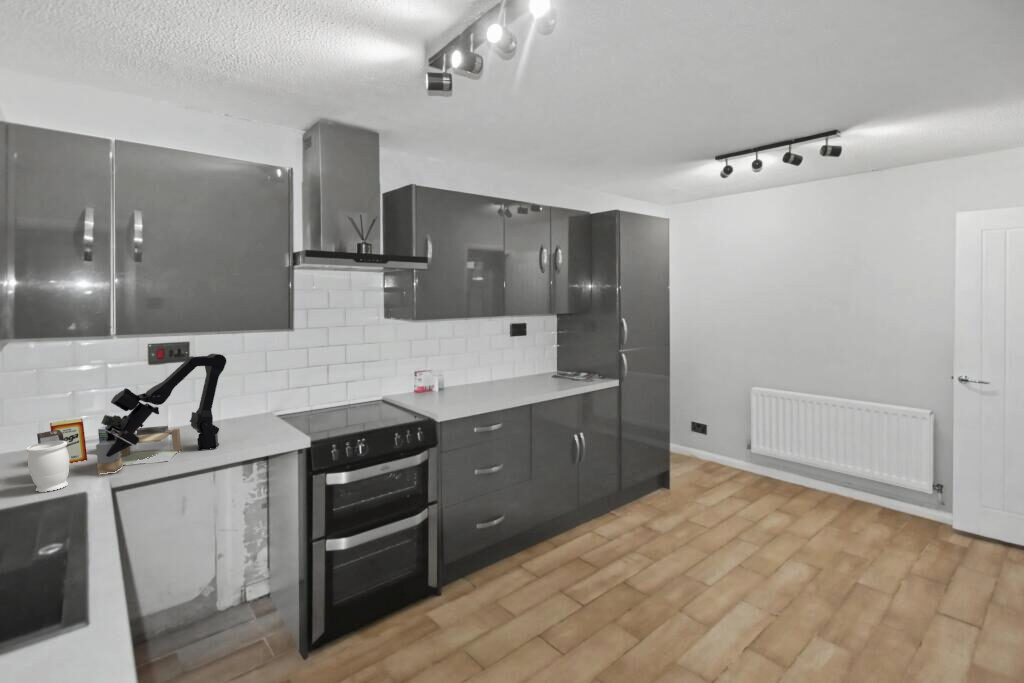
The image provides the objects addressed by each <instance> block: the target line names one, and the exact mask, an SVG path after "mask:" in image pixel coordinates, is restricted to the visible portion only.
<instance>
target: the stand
mask: <svg viewBox="0 0 1024 683" xmlns="http://www.w3.org/2000/svg"><path fill="white" fill-rule="evenodd" d="M170 430H171V432H170V435H171V439H172V440H171V441H172V449H164V450H163V449H162V450H151V451H141V452H140V451H139V452H130V446H129V447H127V448H125V449H123V450H121V454H120V455H121V458H122V465H126V464H133V463H134V462H136V461H137V460H138V459H139V460H143V459H145V458H147V457H149V458H150V457H153V456H156V454H157V455H159V453H160V454H164V455H167V456H170V455H174V454H175V453H177V452H179V451H181V452H182V444H181V443H182V442H181V433H180V431H181V430H180V428H173V429H170ZM170 435H169V436H170ZM179 453H180V452H179ZM177 454H178V453H177ZM152 455H153V456H152ZM149 458H147V459H149Z"/></svg>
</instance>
